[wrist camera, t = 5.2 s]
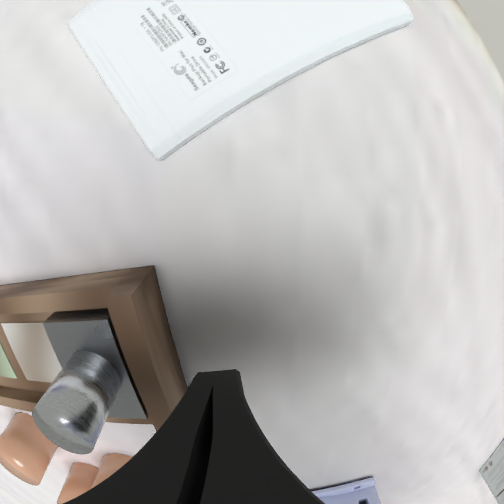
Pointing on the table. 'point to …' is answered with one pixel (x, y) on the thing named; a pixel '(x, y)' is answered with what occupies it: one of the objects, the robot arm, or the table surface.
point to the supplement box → (495, 473)
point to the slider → (85, 381)
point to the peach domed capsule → (110, 466)
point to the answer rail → (125, 324)
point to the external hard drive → (215, 53)
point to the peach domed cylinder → (25, 449)
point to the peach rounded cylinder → (77, 481)
